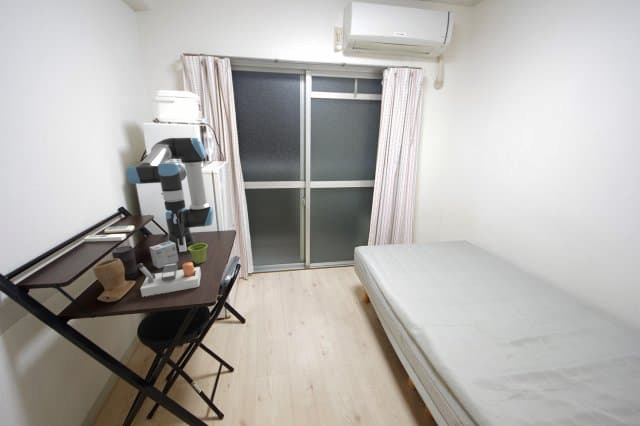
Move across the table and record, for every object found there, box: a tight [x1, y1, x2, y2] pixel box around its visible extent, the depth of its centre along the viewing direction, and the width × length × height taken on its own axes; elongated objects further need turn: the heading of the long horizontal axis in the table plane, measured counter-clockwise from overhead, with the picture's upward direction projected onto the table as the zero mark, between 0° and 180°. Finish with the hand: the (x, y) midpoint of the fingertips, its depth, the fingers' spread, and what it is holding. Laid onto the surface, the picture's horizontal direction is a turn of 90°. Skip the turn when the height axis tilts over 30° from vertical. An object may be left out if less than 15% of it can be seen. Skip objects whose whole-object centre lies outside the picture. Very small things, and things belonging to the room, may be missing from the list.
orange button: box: [182, 261, 195, 278], centre depth 118 cm, size 4×4×6 cm
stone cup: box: [93, 258, 136, 303], centre depth 109 cm, size 15×12×15 cm
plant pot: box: [187, 242, 208, 265], centre depth 138 cm, size 9×9×9 cm
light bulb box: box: [149, 240, 179, 270], centre depth 136 cm, size 11×7×11 cm, turn 145°
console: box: [139, 266, 202, 298], centre depth 117 cm, size 12×22×6 cm, turn 110°
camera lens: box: [111, 245, 139, 281], centre depth 122 cm, size 8×8×15 cm
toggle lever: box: [137, 262, 154, 278], centre depth 112 cm, size 3×2×9 cm
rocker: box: [162, 261, 178, 281], centre depth 115 cm, size 9×5×2 cm, turn 21°
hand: (183, 250), depth 115 cm, fingers closed
